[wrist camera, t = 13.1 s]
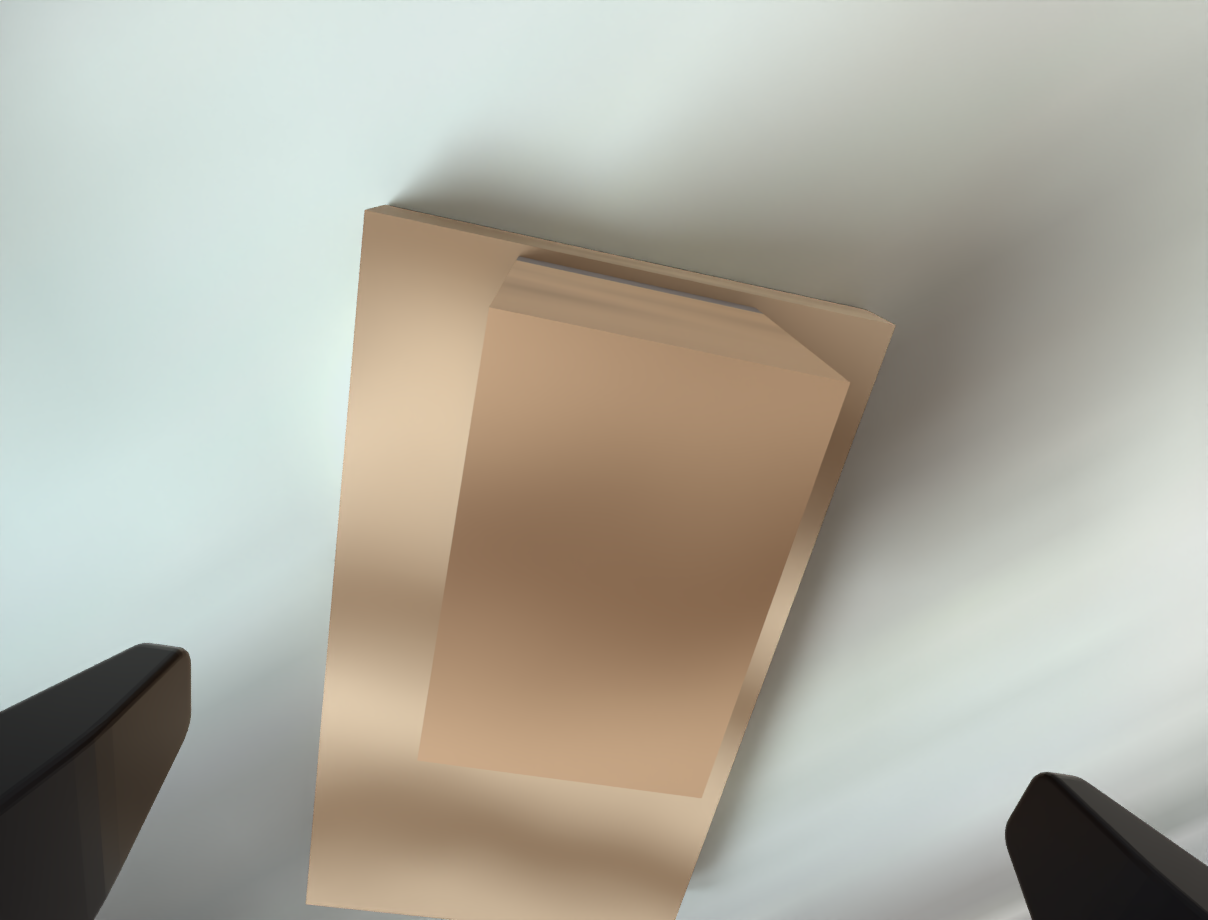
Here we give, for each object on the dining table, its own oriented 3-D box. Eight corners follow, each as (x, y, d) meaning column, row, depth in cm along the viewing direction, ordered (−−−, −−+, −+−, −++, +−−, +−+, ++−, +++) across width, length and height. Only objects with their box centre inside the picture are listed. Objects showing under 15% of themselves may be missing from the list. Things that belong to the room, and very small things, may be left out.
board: (660, 892, 22) (666, 943, 20) (323, 854, 21) (305, 905, 19) (866, 309, 15) (896, 325, 14) (385, 204, 14) (364, 209, 13)
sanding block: (664, 616, 16) (701, 798, 11) (463, 583, 16) (417, 760, 11) (755, 307, 14) (850, 382, 9) (518, 255, 13) (488, 307, 8)
